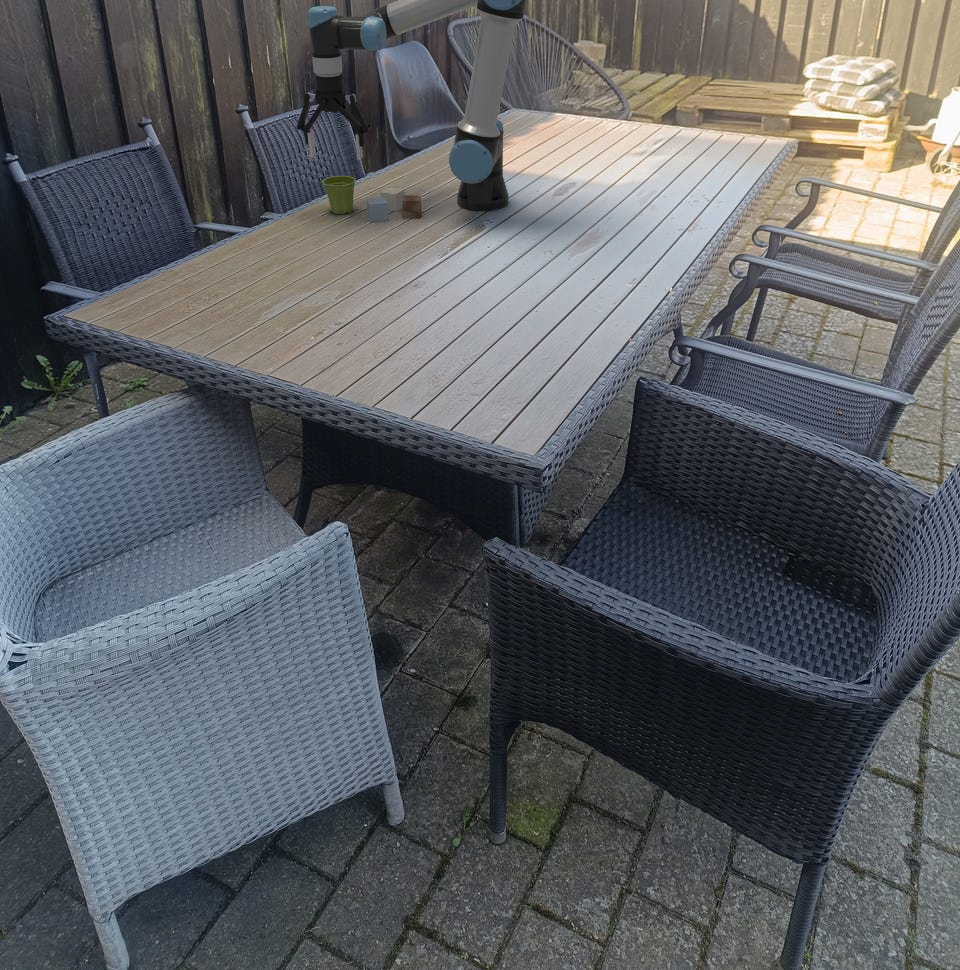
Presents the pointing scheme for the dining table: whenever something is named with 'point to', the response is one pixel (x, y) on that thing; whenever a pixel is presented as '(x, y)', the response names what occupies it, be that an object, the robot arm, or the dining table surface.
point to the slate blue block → (377, 210)
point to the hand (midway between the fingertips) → (336, 157)
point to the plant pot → (340, 193)
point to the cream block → (393, 198)
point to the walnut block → (411, 206)
